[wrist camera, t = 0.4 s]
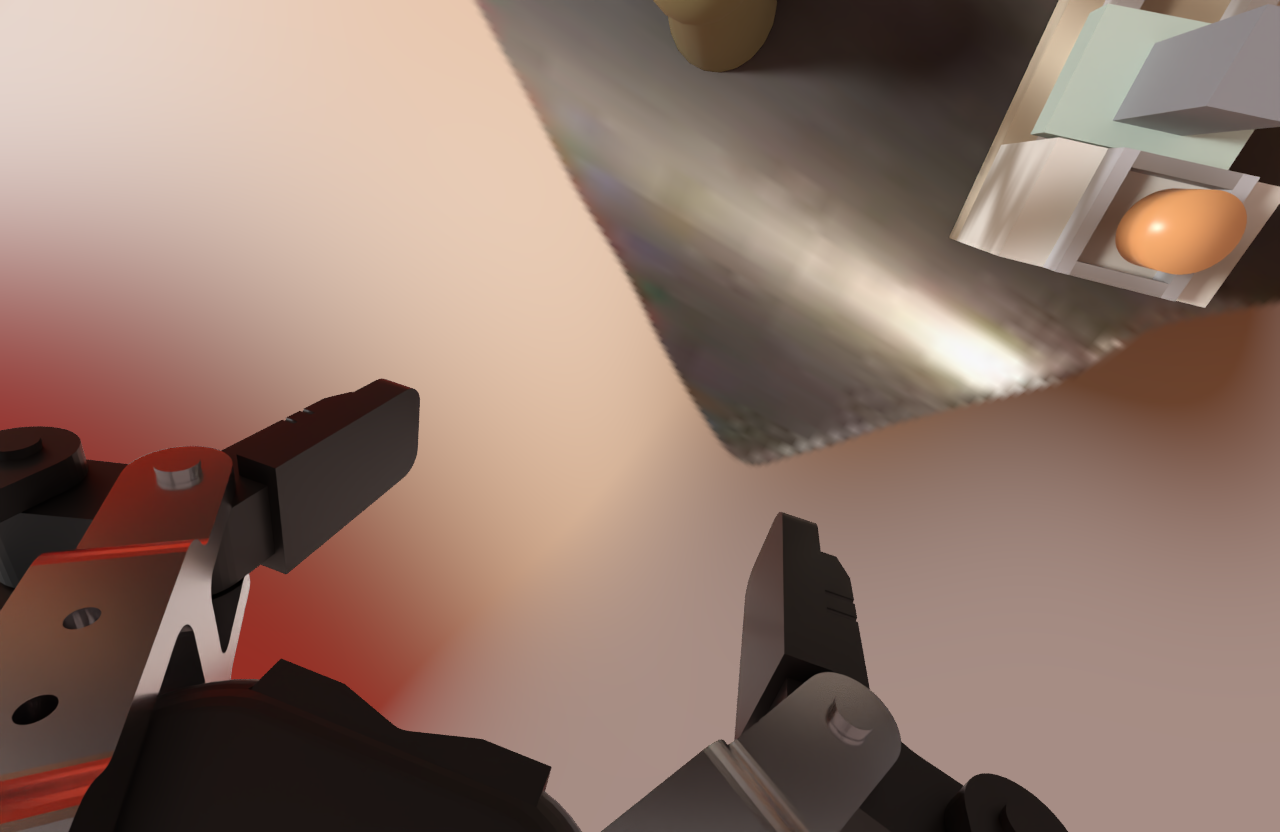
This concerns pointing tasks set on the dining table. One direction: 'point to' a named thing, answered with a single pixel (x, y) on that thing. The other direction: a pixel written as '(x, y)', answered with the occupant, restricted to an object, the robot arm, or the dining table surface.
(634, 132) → the dining table surface
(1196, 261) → the button
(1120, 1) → the rail
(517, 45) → the dining table surface
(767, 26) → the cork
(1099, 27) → the carriage
